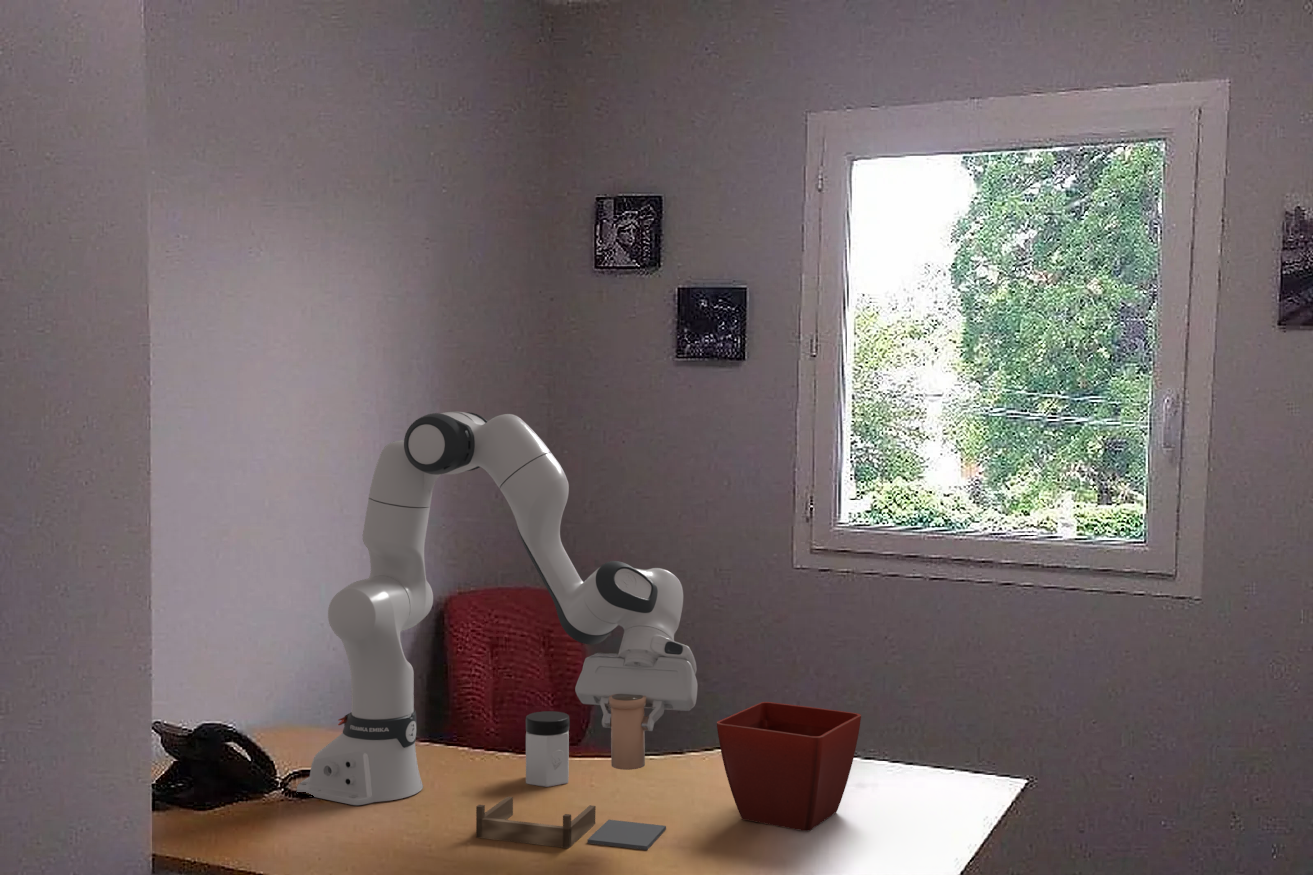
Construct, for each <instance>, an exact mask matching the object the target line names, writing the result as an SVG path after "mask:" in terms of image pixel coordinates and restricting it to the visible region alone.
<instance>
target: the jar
mask: <svg viewBox="0 0 1313 875" xmlns="http://www.w3.org/2000/svg"><path fill="white" fill-rule="evenodd" d="M570 723H571V722H570V715H569V714H567V713H565V712H563V711H554V710H553V711H552V710H548V711H546V710H545V711H544V710H543V711H536V712H532V713H529V714H527V715H525V731H526V733H525V784H526V785H531V786H539V787H543V788H545V787H546V788H550V787H554V786H560V785H566V784H568V783H569V774H570V772H569V770H570V769H569V768H570V767H569V766H570V763H569V762H570V759H569V758H570V757H569V755H570V753H569V752H570V750H569V749H570V748H569V746H570V742H569V739H570V737H569V736H570V735H569V733H570V732H569V730H570V725H571V724H570Z"/></svg>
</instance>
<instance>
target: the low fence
mask: <svg viewBox="0 0 1313 875" xmlns="http://www.w3.org/2000/svg"><path fill="white" fill-rule="evenodd" d="M485 806H486V805H485V804H478V805H476V807H475V808H476V810H475V811H476V812H475V813H476V814H475V816H476V819H475V820H476V821H475V823H476V824H475V825H476V826H475V827H476V829H475V830H476V832H475V833H476V834H475V835H476V837H475V838H480V839H488V840H495V841H496V840H497V841H504V842H505V841H506V842H512V843H513V842H514V843H522V844H530V845H537V846H539V845H540V846H548V847H556V848H564V849H569V848H571V847H572V846H573V845H574V844H575V843H576V842H577V841H578V840H580V839H581V838H582V837H583V836H584V835H585V834H586V833H587V832H588V831H589V830H591V828H593V827H594V826H595V825H596V805H592V804H591V805H588V806H587V807H586V808H585V809H584V810H583V811H581V812H580V813H579V814H578V815H577V816H576V817H574V818H573V819H572V814H568V813H564V815H562V825H555V824H546V823H538V822H528V821H527V822H526V821H519V820H510V819H509V818H510V817H512V816H513V815H514V797H513V796H506V797H505V798H504V799H502V800H501V801H499V802H498V803H496V804H495V805H494V806H492V807H490V809H488V810H485V809H486V807H485Z"/></svg>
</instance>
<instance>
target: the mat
mask: <svg viewBox="0 0 1313 875" xmlns="http://www.w3.org/2000/svg"><path fill="white" fill-rule="evenodd" d="M666 830H667V826H666V825H662V824H655V823H654V824H652V823H643V822H634V821H628V820H627V821H624V820H616V819H608V820H606V821H605V822H604V824H602V825H601V826H600V827H599V828H598V829H597V830H596V831H595V832H594V833H593V834H591V836H589V837H588V838H587V839H586V840H587V844H590V845H591V844H593V845H599V846H600V845H601V846H607V847H608V846H610V847H616V848H625V849H626V848H627V849H633V850H634V849H635V850H645V851H648V850H649V849H650V848H651V847H652V846H653V845H654V843H655V842H656V841H657V840H658V839H659V838H660V837H661V835H662V834H664V832H665V831H666Z"/></svg>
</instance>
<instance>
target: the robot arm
mask: <svg viewBox="0 0 1313 875" xmlns="http://www.w3.org/2000/svg"><path fill="white" fill-rule="evenodd" d="M382 448H383V449H382V450H381V451H380V454H379V458H378V460H377V463H376V466H375V469H374V473H373V476H372V480H371V483H370V484H371V485H370V488H369V494H368V499H367V504H366V505H367V506H366V510H365V511H366V512H365V517H364V518H365V519H364V524H363V530H362V542H363V545H365V547H366V548H367V551H368V553H369V560H370V561H369V564H370V574H369V576H368V578H364V579H360V580H356V581H353V582H351V583H350V584H348V585H347V586H345V587H343V588H342V589H341V590H340V591H338V592H337V593H336V594H335V595H334V596H333V597H332V599H331V600H330V602H329V606H328V609H327V619H328V623H329V626H330V628H331V630H332V631H333V632H332V633H334V634H335V635H336V636H337V637H338V638H339V639H340V641H341V642H342V644H343V647H344V650H345V653H346V656H347V661H348V665H349V671H350V672H349V673H350V687H351V688H350V690H351V691H350V692H351V693H350V694H351V695H350V697H351V711H350V712H349V713H347V714H345V715H344V716H343V717H341V718H339V719H337V721H339V723H337V725H338V726H342V725H344V727H343V729H342V733H341V734H339V735H338V736H337V737H336V738H334V739H333V740H332V741H330V742H329V743H327V744H326V745H325V747H323V748H321V750H319V751H318V752H317V753H316V754H315V756H314V757H313V758H312V762H311V765H310V766H311V768H310V770H309V771H310V772H309V776H308V777H306V778H305V779H303V780H302V781H301V782H299V783H298V784H297V786H296V793H297V792H306V793H309V794H311V795H313V796H314V797H313V798H317V799H321V800H322V799H323V800H327V801H332V802H336V803H337V802H338V803H342V804H346V805H347V804H348V805H351V806H362V805H363V806H364V805H368V804H372V803H378V802H389V801H393V800H395V801H396V800H400V799H403V798H408V797H411V796H413V795H416V794H418V793H419V792H420V791H422V790H423V788H424V785H423V782H422V778H421V774H420V771H419V766H418V759H417V750H416V740H417V712H416V710H415V706H414V704H415V698H414V697H415V696H414V694H415V693H414V692H415V691H414V690H415V687H414V685H415V684H414V682H415V681H414V678H415V674H414V673H415V671H414V668H413V666H412V663H410V662H409V661H408V660H407V658H406V656H405V653H404V650H403V645H402V641H401V632H404V631H406V630H410V629H411V628H414V627H416V626H417V625H418V624H419V623H420V622H421V621H423V620H424V619H425V618H426V616H429V613H430V612H431V610H432V608H433V604H434V593H433V589H432V586H431V584H430V583H429V581H428V580H427V573H426V563H425V562H426V561H425V544H426V536H427V532H428V531H427V530H428V522H429V516H430V510H431V506H432V505H431V504H432V498H433V497H432V496H433V492H434V487H435V484H436V482H437V480H438V479H439V478H440V476H442V475H457V474H462V473H463V472H469V471H470V472H471V471H475V470H477V469H479V468H481V469H483V470H484V471H486V473H487V474H488V475H489V476H490V478H492V480H493V481H494V483H495V485H496V486H497V488H498V490H500V492H501V493H502V495H503V496H504V498H505V500H506V501H507V503H508V506H509V507H510V510H511V512H512V514H513V517H514V519H515V522H516V525H517V531H518V535H519V538H520V540H521V543H522V544H523V546H524V549H525V551H526V553H527V554H528V556H529V558H530V560H531V562H532V564H533V565H534V567H535V569H536V571H537V573H538V575H539V576H540V578H541V580H542V583H543V584H544V586H545V589H547V591H548V593H549V595H550V597H551V599H552V601H553V604H554V606H555V610H556V614H557V618H558V620H559V621H558V622H559V623H560V626H561V627H562V629H563V630H564V632H565V633H566V634H567V635H568V636H569V637H570V638H572V639H573V640H574V641H576V642H578V643H581V644H583V645H597V644H600V643H602V642H604V641H605V640H606V639H607V638H608V637H609V635H611V633H612V632H613V631H614V630H615V629H616V628H617V627H618V626H620V627H621V628H623V630H624V631H623V635H622V636H623V637H622V639H621V643H620V647H619V650H618V653H615V652H614V653H611V652H610V653H609V652H607V653H606V652H605V653H603V652H594V654H591V655H589V656H587V657H585V659H584V662H583V664H582V665H583V666H582V670H581V672H580V674H579V676H578V679H577V681H576V684H575V688H574V689H575V690H574V691H575V695H576V696H577V698H578V700H579V701H580V703H581V704H583V705H593V706H594V705H597V706H600V708H601V710H602V714H603V716H602V719H601V725H602V728H608V729H611V713H609V711H611V706H609V696H611V695H613V694H633V695H643V696H646V705H645V706H644V709H652V710H651V712H650V713H649V715H648V716H647V715H644V716H643V722H642V728H643V730H645V732H646V731H648V732H653V729H654V725H655V723H656V722H658V720H659V719H660V718H661V717H662V716H664V712H665V710H668V711H669V710H671V711H685V712H689V711H691V710H692V709H693V708H694V707H695V706H696V705H697V704H696V703H697V697H698V679H697V677H696V674H697V670H698V669H697V662H696V659H695V656H694V654H693V652H692V650H691V648H690V646H688V645H687V644H686V645H685V644H683V643H681V642H678V641H675V635H676V632H677V630H678V629H679V626H680V622H681V617H682V611H683V606H684V590H683V589H684V588H683V585H682V583H681V581H680V580H679V578H678V577H677V576H676V575H675V574H674V573H672V572H670V571H669V570H667V569H664V568H660V567H652V568H648V569H642V568H635V567H633V566H631V565H630V564H628V563H625V562H624V561H623V562H622V561H618V560H610V561H607V562H604V563H603V564H602V565H600V567H598V568H597V569H595V571H593V572H592V573H591V574H590V575H589V576H588V577H587V578H586V579H585V580H584V581H583V580H582V578H581V577H580V574H579V573H578V571H577V569H576V568H575V566H574V564H573V562H572V560H571V559H570V557H569V555H568V553H567V551H566V550H565V547H564V545H563V543H562V539H561V523H562V518H563V514H564V511H565V509H566V508H565V507H566V505H567V502H568V499H569V491H570V488H569V487H570V484H569V481H568V478H567V476H566V473H565V471H564V469H563V468H562V466H561V463H560V462H559V461H558V460H557V458H556V457H555V456H554V454H553V453H552V452H551V450H550V449H549V448H548V446H547V445H546V443H545V442H544V441H543V439H542V438H540V436H538V434H537V433H536V432H535V431H534V430H533V429H532V427H530V426H529V424H528V423H527V422H525V421H524V420H523V419H522V418H520V416H518V415H516V414H512V413H505V414H500V415H496V416H494V417H493V418H491V419H489V420H487V418H485V417H483V416H482V415H480V414H477V413H474V412H469V411H468V412H463V411H456V410H451V411H446V412H440V413H439V412H438V413H437V412H433V413H428V414H425V415H423V416H421V417H418V418H417V419H415V421H413V422H412V423H411V424H410V425H409V427H408V428H407V431H406V432H405V434H404V439H401V440H395V441H393V442H389V443H388V444H387V445H385V446H384V447H382Z"/></svg>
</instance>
